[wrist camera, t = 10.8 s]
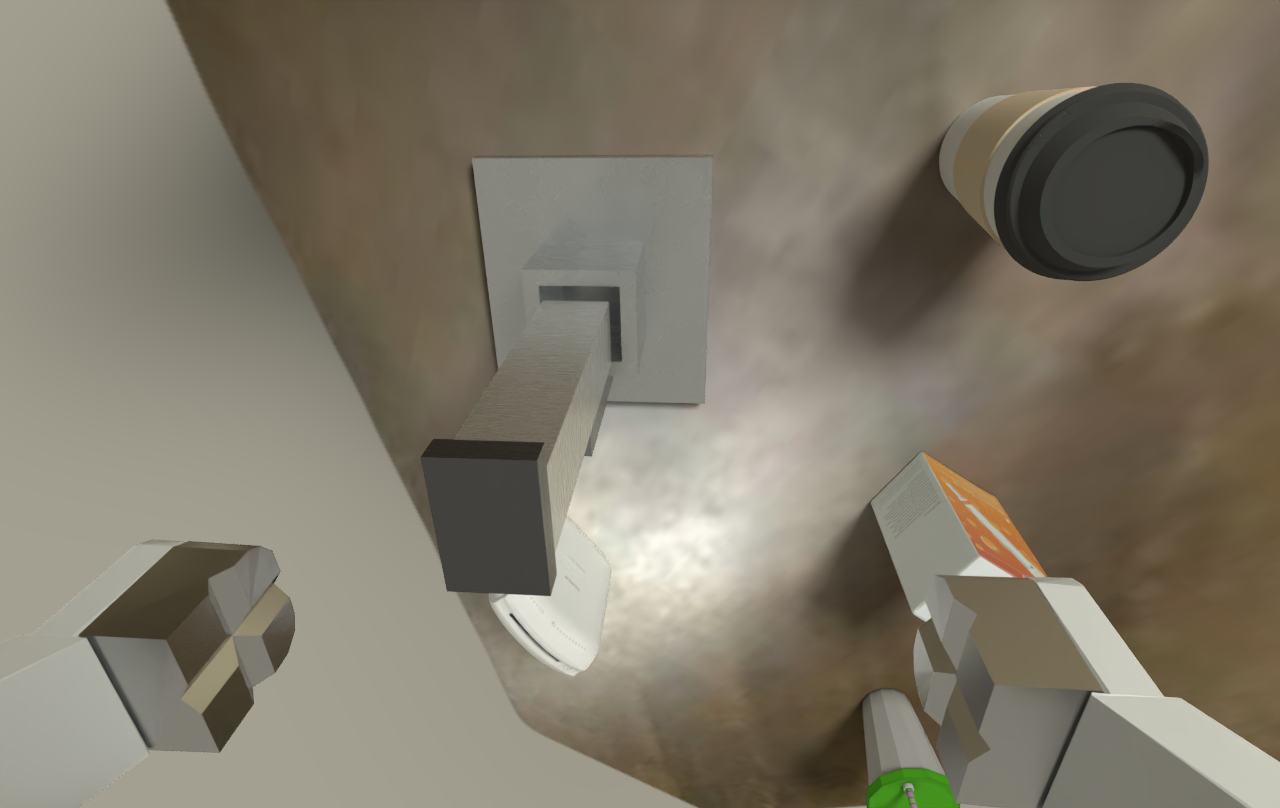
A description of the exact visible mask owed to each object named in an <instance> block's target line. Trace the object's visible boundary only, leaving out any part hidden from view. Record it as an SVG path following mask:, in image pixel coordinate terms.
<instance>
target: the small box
mask: <svg viewBox="0 0 1280 808" xmlns="http://www.w3.org/2000/svg"><path fill="white" fill-rule="evenodd" d="M871 505H872V508H873V510H874V513H875V516H876V518H877V521H878V524H879V526H880V529H881V532H882V534H883V537H884V540H885V542H886V545H887V548H888V550H889V553H890V556H891V558H892V561H893V564H894V566H895V569H896V571H897V574H898V577H899V579H900V582H901V585H902V587H903V590H904V592H905V595H906V598H907V601H908V603H909V606H910V608H911V611H912V613H913V614H914V615H915V616H917V617H918V618H920V619H921V620H923V621H925V622H926V621H928V620H929V619H930V618H931V615H930V612H929V610H928V607H927V605H926V602H925V597H926V593H927V589H928V585H929V583H930V581H931V580H932V578H933V577H934V575H960V576H988V577H1016V578H1025V577H1047V575H1046V574H1045V572H1044V571H1043V569H1042V568H1041V566H1040V564H1039V563H1038V561H1037V560H1036V558H1035V557H1034V555H1033V554H1032V552H1031V550H1030V549H1029V547H1028V546H1027V544H1026V543H1025V541H1024V540H1023V538H1022V537H1021V535H1020V534H1019V532H1018V531H1017V529H1016V528H1015V526H1014V525H1013V523H1012V522H1011V520H1010V518H1009V517H1008V515H1007V514H1006V512H1005V511H1004V509H1003V508H1002V506H1001V505H1000V503H999V502H998V500H997V499H996V498H995V497H994V496H992V495H990V494H989V493H987V492H985V491H983V490H982V489H980V488H978V487H977V486H975V485H973V484H972V483H970V482H969V481H967V480H966V479H964V478H962V477H961V476H959V475H957V474H956V473H954V472H953V471H951V470H950V469H948V468H947V467H945V466H944V465H942V464H940V463H939V462H937V461H936V460H934V459H933V458H931V457H930V456H928V455H927V454H925V453H924V452H920V453H919V454H918V455H917V456H916V457H915V458H914V459H913V460H912V461H911V462H910V463H909V464H908V465H907V466H906V467H905V468H904V469H903V470H902V471H901V472H900V473H899V474H898V475H897V476H896V477H895V478H894V479H893V480H892V481H891V482H890V483H889V484H888V485H887V486H886V487H885V488H884V489H883V490H882V491H881V492H880V493H879V494H878V495H877V496H876V497H875V498H874V499H873V500H872V501H871ZM1047 578H1048V577H1047Z"/></svg>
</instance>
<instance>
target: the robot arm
mask: <svg viewBox="0 0 1280 808" xmlns="http://www.w3.org/2000/svg"><path fill="white" fill-rule="evenodd" d="M279 573H280V568H279V566H278V563H277V561H276V558H275V556H274V553H273V551H272V550H269V549H267V548H264V547H261V546H251V545H237V544H221V543H207V542H192V541H188V542H180V541H165V540H149V541H146V542H143V543H139V544H136V545H135V546H134V547H133V548H131V549H130V550H129V551H128V552H127V553H125V554H124V555H123V556H122V557H121V558H120V559H118V560H117V561H116V562H115V563H114V564H113V565H111V566H110V567H109V568H108V569H107V570H106V571H104V572H103V573H102V574H101V575H100V576H99V577H97V579H95V580H94V581H93V582H91V583H90V584H89V585H88V586H87V587H86V588H84V589H83V590H82V591H81V592H80V593H79V594H77V595H76V596H75V597H74V598H73V599H72V600H70V601H69V602H68V603H67V604H66V605H65V606H64V607H62V608H61V609H60V610H59V611H58V612H57V613H55V614H54V615H53V616H52V617H51V618H49V619H48V620H47V621H46V622H45V623H44V624H42V625H41V626H40V627H39V628H38V629H37V630H36V631H34V632H33V633H32V634H31V635H27V634H17V635H15V636H13V637H10V638H8V639H6V640H4V641H2V642H0V808H79V807H81V806H82V805H83V804H84V803H86V802H87V801H89V800H90V799H91V798H93V797H94V796H95V795H97V794H98V793H99V792H100V791H102V790H103V789H104V788H106V787H107V786H108V785H110V784H111V783H112V782H114V781H115V780H116V779H118V778H119V777H120V776H122V775H123V774H124V773H126V772H127V771H128V770H130V769H131V768H132V767H134V766H135V765H136V764H138V763H139V762H140V761H141V760H143V759H144V758H145V757H147V756H148V755H149V754H150V752H149V750H162V751H189V752H217V753H218V752H219V753H220V752H221V750H222V749H223V747H224V746H225V744H226V742H227V741H228V740H229V739H230V737H231V735H232V734H233V733H234V731H235V730H236V728H237V727H238V726H239V724H240V723H241V721H242V720H243V718H244V717H245V716H246V714H247V713H248V711H249V710H250V708H251V707H252V706H253V704H254V698H253V687H254V686H255V685H257V684H259V683H260V682H261V681H263V680H265V679H266V678H268V677H269V676H271V675H272V674H274V673H275V672H276V670H277V669H278V668H279V666H280V665H281V663H282V662H283V660H284V659H285V657H286V656H287V654H288V651H289V648H290V645H291V641H292V638H293V635H294V631H295V615H294V614H295V613H294V609H293V606H292V603H291V600H290V598H289V597H288V596H287V595H286V594H285V593H284V592H283V591H282V590H280V589H279V588H278V587H277V586H276V585H275V584H274V582H275V580H276V579H277V577H278V575H279ZM925 602H926V605H927V607H928V610H929V612H930V615H931V618H930V619H929V620H928V621H926V622H925V623H924V624H923V625H921V626H920V627H919V628H918V630H917V635H916V641H915V646H914V674H915V679H916V684H917V690H918V693H919V696H920V700H921V703H922V706H923V709H924V711H925V712H926V713H927V714H928V715H930V716H931V717H932V718H933V719H934V720H935V721H936V722H937V723H938V724H939V725H940V726H941V729H940V733H939V736H938V740H937V744H936V747H937V750H938V753H939V756H940V759H941V762H942V765H943V768H944V770H945V773H946V776H947V779H948V782H949V785H950V788H951V791H952V793H953V796H954V799H955V802H956V803H959V804H969V805H979V806H990V807H1001V808H1280V762H1279V761H1277V760H1275V759H1274V758H1272V757H1271V756H1269V755H1268V754H1266V753H1265V752H1263V751H1261V750H1260V749H1258V748H1257V747H1255V746H1254V745H1252V744H1251V743H1249V742H1248V741H1246V740H1244V739H1243V738H1241V737H1240V736H1238V735H1237V734H1235V733H1234V732H1232V731H1231V730H1229V729H1227V728H1226V727H1224V726H1223V725H1221V724H1220V723H1218V722H1217V721H1215V720H1213V719H1212V718H1210V717H1209V716H1207V715H1206V714H1204V713H1203V712H1201V711H1200V710H1198V709H1196V708H1195V707H1193V706H1192V705H1190V704H1189V703H1187V702H1186V701H1184V700H1183V699H1181V698H1173V697H1164V696H1163V694H1162V693H1161V692H1160V690H1159V689H1158V688H1157V686H1156V685H1155V683H1154V682H1153V681H1152V679H1151V678H1150V677H1149V675H1148V674H1147V673H1146V671H1145V670H1144V668H1143V667H1142V666H1141V664H1140V663H1139V662H1138V660H1137V659H1136V657H1135V656H1134V655H1133V653H1132V652H1131V651H1130V649H1129V648H1128V646H1127V645H1126V644H1125V642H1124V641H1123V640H1122V638H1121V637H1120V635H1119V634H1118V633H1117V631H1116V630H1115V629H1114V627H1113V626H1112V625H1111V623H1110V622H1109V620H1108V619H1107V618H1106V616H1105V615H1104V614H1103V612H1102V611H1101V609H1100V608H1099V607H1098V605H1097V604H1096V603H1095V601H1094V600H1093V598H1092V597H1091V596H1090V594H1089V593H1088V592H1087V590H1086V589H1085V587H1084V586H1083V585H1082V584H1080V583H1079V582H1077V581H1076V580H1074V579H1073V578H1047V577H1025V578H1016V577H988V576H960V575H934V577H933V578H932V580H931V581H930V583H929V585H928V589H927V593H926V597H925Z"/></svg>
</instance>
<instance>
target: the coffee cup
mask: <svg viewBox="0 0 1280 808" xmlns="http://www.w3.org/2000/svg"><path fill="white" fill-rule="evenodd" d="M1208 165H1209V160H1208V149H1207V144H1206V140H1205V137H1204V134H1203V131H1202V129H1201V127H1200V125H1199V124H1198V122H1197V120H1196V119H1195V118H1194V116H1193V115H1192V114H1191V113H1190V112H1189V111H1188V110H1187V109H1186V108H1185V107H1184V106H1183V105H1182V104H1181V103H1180V102H1179V101H1178V100H1176V99H1175V98H1174V97H1173V96H1171V95H1169V94H1168V93H1166V92H1164V91H1162V90H1160V89H1157V88H1155V87H1151V86H1148V85H1143V84H1136V83H1115V84H1108V85H1102V86H1098V87H1080V88H1068V89H1055V90H1043V91H1031V92H1024V93H1019V94H1016V95H1002V96H994V97H990V98H987V99H984V100H982V101H980V102H978V103H976V104H974V105H972V106H971V107H969V108H968V109H967V110H965V111H964V112H963V113H962V114H961V115H960V116H959V117H958V118H957V119H956V120H955V121H954V123H953V124H952V125H951V127H950V128H949V130H948V132H947V133H946V135H945V137H944V140H943V142H942V146H941V149H940V155H939V169H940V175H941V178H942V181H943V183H944V185H945V187H946V188H947V190H948V191H949V192H950V193H951V194H952V195H953V196H954V197H955V198H956V199H957V200H958V201H959V202H960V203H961V205H962V206H963V208H964V209H965V210H966V211H967V212H968V213H969V214H970V215H971V216H972V217H973V218H974V220H975V221H976V222H977V223H978V224H979V225H980V226H981V227H982V228H983V229H984V230H985V231H986V232H987V233H988V234H989V235H990V236H991V237H992V238H993V239H994V240H995V241H996V242H997V243H998V244H999V245H1001V246H1002V247H1003V248H1004V249H1006V250H1007V252H1008V253H1009V254H1010V255H1011V257H1012V258H1013V259H1014V260H1015V261H1017V262H1018V263H1019V264H1020V265H1022V266H1023V267H1024V268H1026V269H1028V270H1030V271H1032V272H1034V273H1036V274H1039V275H1041V276H1045V277H1049V278H1054V279H1063V280H1074V281H1094V280H1102V279H1107V278H1111V277H1115V276H1118V275H1121V274H1124V273H1126V272H1129V271H1131V270H1133V269H1135V268H1137V267H1139V266H1141V265H1143V264H1145V263H1146V262H1148V261H1149V260H1151V259H1152V258H1154V257H1155V256H1157V255H1158V254H1159V253H1161V252H1162V251H1163V250H1164V249H1165V248H1167V247H1168V246H1169V245H1170V244H1171V243H1172V242H1173V241H1174V240H1175V239H1176V238H1177V237H1178V235H1179V234H1180V233H1181V232H1182V231H1183V229H1184V228H1185V227H1186V225H1187V224H1188V222H1189V221H1190V219H1191V218H1192V216H1193V215H1194V213H1195V211H1196V209H1197V207H1198V205H1199V203H1200V200H1201V198H1202V195H1203V192H1204V189H1205V185H1206V181H1207V176H1208Z"/></svg>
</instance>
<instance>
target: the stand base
mask: <svg viewBox="0 0 1280 808" xmlns="http://www.w3.org/2000/svg"><path fill="white" fill-rule="evenodd" d="M472 163H473V171H474V179H475V187H476V195H477V203H478V211H479V219H480V227H481V235H482V243H483V252H484V260H485V268H486V276H487V284H488V292H489V300H490V308H491V316H492V324H493V332H494V340H495V348H496V356H497V364H498V369H499V367H500V366H501V364H502V363H503V361H504V360H505V358H506V357H507V355H508V354H509V352H510V351H511V349H512V347H513V346H514V344H515V343H516V341H517V340H518V338H519V337H520V335H521V334H522V332H523V330H524V329H525V327H526V326H527V324H528V323H529V321H530V320H531V318H532V317H533V315H534V313H535V312H536V310H537V309H538V307H539V306H540V304H541V303H542V301H607V302H609V313H610V339H611V366H610V370H609V373H608V376H607V380H606V383H605V387H604V390H603V393H602V397H601V400H600V404H599V407H598V410H597V414H596V417H595V420H594V424H593V427H592V431H591V434H590V437H589V441H588V444H587V448H586V451H585V454H584V456H592V454H593V450H594V447H595V443H596V439H597V436H598V432H599V428H600V425H601V421H602V418H603V414H604V410H605V407H606V403H607V401H621V402H662V403H703V404H705V379H706V349H707V319H708V289H709V258H710V228H711V198H712V167H713V155H592V156H476V157H474V158H472Z"/></svg>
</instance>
